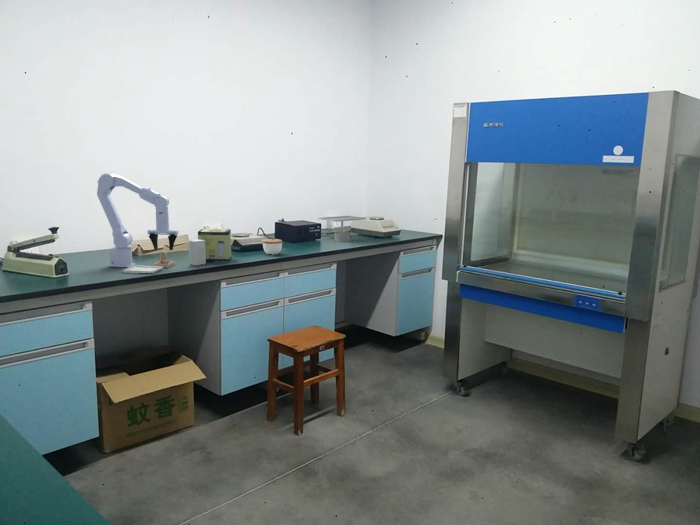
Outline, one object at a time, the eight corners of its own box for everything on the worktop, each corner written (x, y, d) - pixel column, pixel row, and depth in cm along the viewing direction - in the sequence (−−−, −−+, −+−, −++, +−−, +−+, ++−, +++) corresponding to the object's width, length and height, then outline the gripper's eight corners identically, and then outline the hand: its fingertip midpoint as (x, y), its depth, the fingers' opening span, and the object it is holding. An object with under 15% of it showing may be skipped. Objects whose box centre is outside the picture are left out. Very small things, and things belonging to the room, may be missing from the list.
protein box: (201, 258, 293) (200, 228, 291) (231, 258, 295) (231, 229, 292) (198, 261, 283) (197, 231, 280) (229, 262, 285) (228, 231, 282)
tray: (122, 272, 253) (122, 270, 253) (135, 267, 265) (135, 265, 264) (152, 274, 251) (152, 271, 251) (163, 269, 263) (163, 266, 263)
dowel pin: (159, 266, 269) (159, 252, 268) (162, 265, 272) (161, 251, 271) (165, 266, 269) (165, 252, 267) (168, 265, 272) (167, 251, 270)
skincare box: (200, 262, 280) (200, 239, 278) (206, 264, 278) (205, 240, 276) (190, 264, 276) (189, 240, 274) (195, 265, 273) (195, 241, 271)
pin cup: (153, 267, 267) (153, 263, 267) (160, 264, 274) (159, 260, 274) (168, 267, 266) (168, 264, 266) (174, 264, 274) (174, 261, 273)
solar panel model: (347, 237, 384) (348, 215, 381) (365, 240, 372) (366, 217, 369) (317, 240, 365) (317, 217, 362) (334, 243, 353) (335, 220, 350)
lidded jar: (259, 253, 312) (258, 236, 310) (275, 251, 318) (275, 235, 317) (269, 256, 304) (269, 239, 302) (285, 254, 311) (286, 237, 309)
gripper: (143, 221, 263) (145, 250, 266) (173, 222, 262) (174, 251, 264) (150, 220, 270) (152, 248, 273) (179, 221, 269) (180, 249, 271)
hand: (163, 249), depth 269 cm, fingers open, 7 cm apart
